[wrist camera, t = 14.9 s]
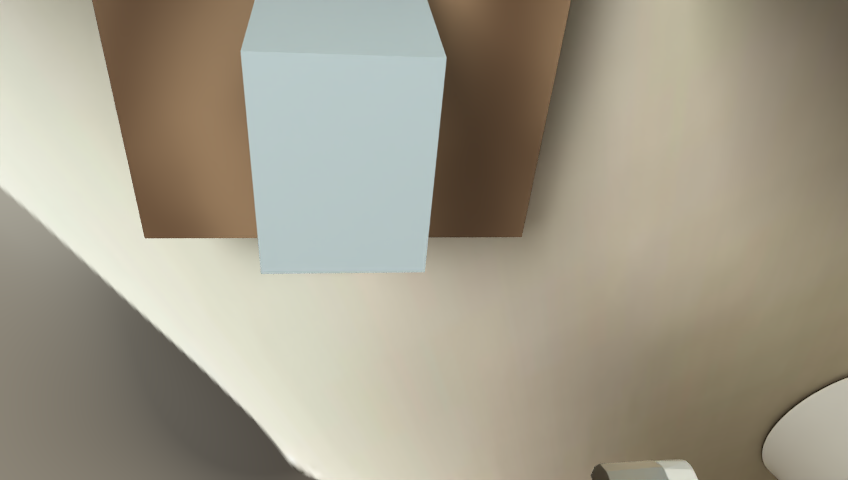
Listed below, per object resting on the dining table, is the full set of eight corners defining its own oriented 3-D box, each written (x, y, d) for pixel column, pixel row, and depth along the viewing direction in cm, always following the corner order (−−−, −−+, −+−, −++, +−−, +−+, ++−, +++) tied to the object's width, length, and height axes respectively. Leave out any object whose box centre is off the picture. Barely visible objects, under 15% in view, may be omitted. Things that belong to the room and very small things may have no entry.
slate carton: (415, -35, 23) (446, 57, 17) (403, 144, 27) (424, 271, 21) (266, -42, 22) (240, 51, 16) (278, 142, 27) (260, 273, 20)
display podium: (566, -203, 25) (610, -188, 21) (500, 178, 35) (521, 236, 31) (90, -244, 22) (39, -237, 19) (167, 175, 33) (144, 238, 29)
